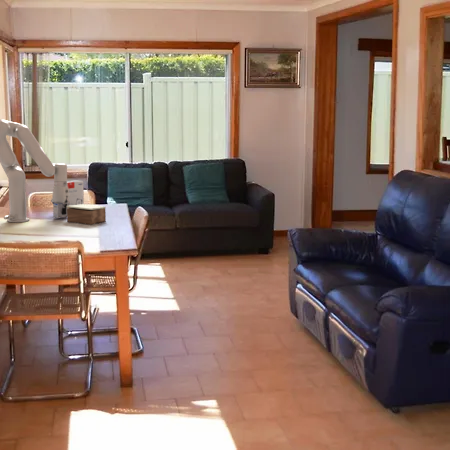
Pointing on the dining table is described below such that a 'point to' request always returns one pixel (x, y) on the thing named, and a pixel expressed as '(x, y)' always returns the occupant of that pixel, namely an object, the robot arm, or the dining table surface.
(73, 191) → the hard drive box
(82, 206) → the lid
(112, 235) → the dining table surface
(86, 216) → the wooden box
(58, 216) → the medicine box
